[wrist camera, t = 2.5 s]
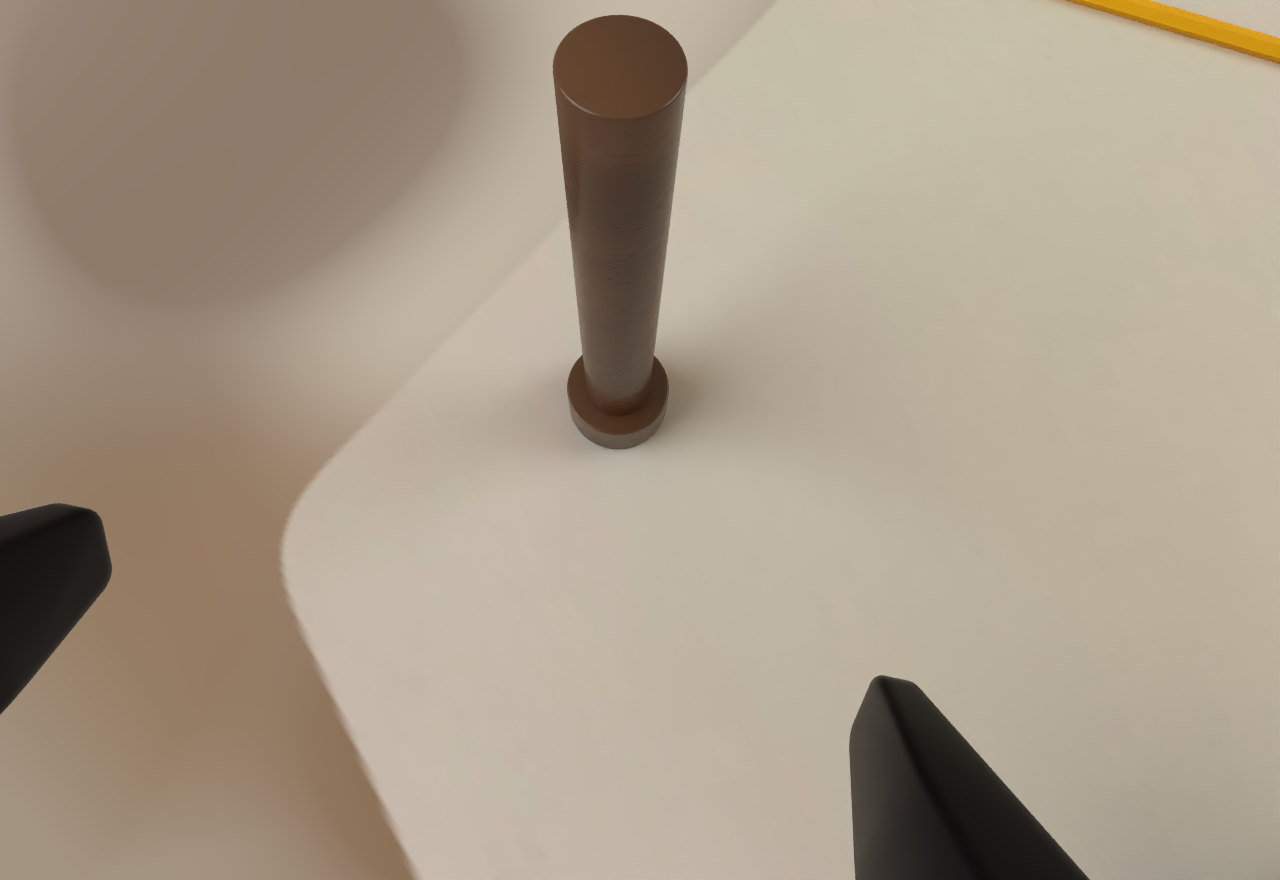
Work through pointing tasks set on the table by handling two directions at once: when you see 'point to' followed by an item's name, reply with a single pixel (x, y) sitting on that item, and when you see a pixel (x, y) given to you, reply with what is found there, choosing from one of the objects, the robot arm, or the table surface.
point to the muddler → (619, 214)
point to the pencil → (1192, 26)
